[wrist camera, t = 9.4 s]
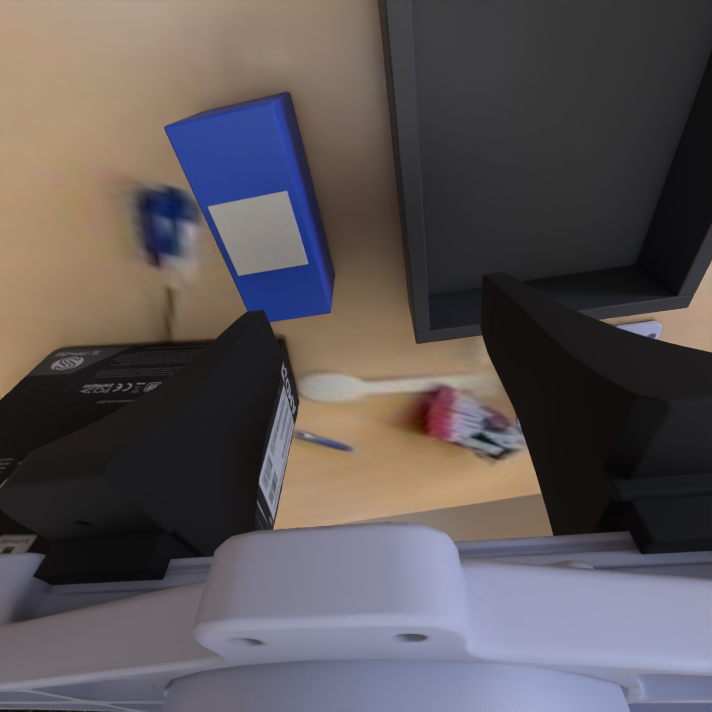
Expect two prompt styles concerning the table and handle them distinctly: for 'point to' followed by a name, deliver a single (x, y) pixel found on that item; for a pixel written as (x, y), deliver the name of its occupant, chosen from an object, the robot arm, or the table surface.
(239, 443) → the robot arm
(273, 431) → the graphics card box
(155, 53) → the table surface
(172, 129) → the blue box
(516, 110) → the desk bin
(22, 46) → the table surface
